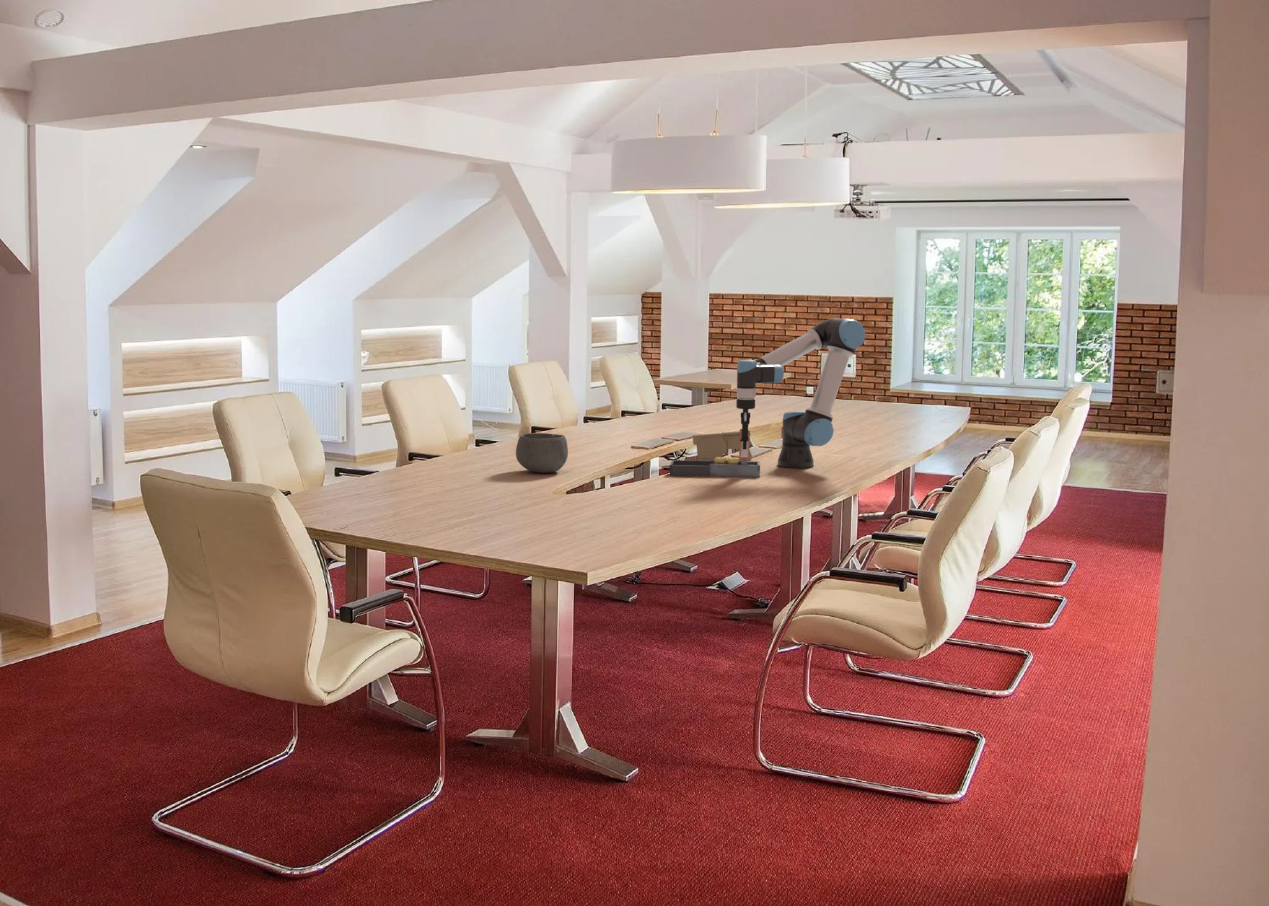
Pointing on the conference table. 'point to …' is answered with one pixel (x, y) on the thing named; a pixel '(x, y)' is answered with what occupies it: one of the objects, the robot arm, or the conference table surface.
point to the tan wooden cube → (720, 460)
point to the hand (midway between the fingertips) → (744, 456)
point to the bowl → (542, 452)
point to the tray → (690, 468)
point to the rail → (735, 469)
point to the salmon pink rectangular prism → (743, 459)
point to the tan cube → (732, 461)
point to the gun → (716, 444)
